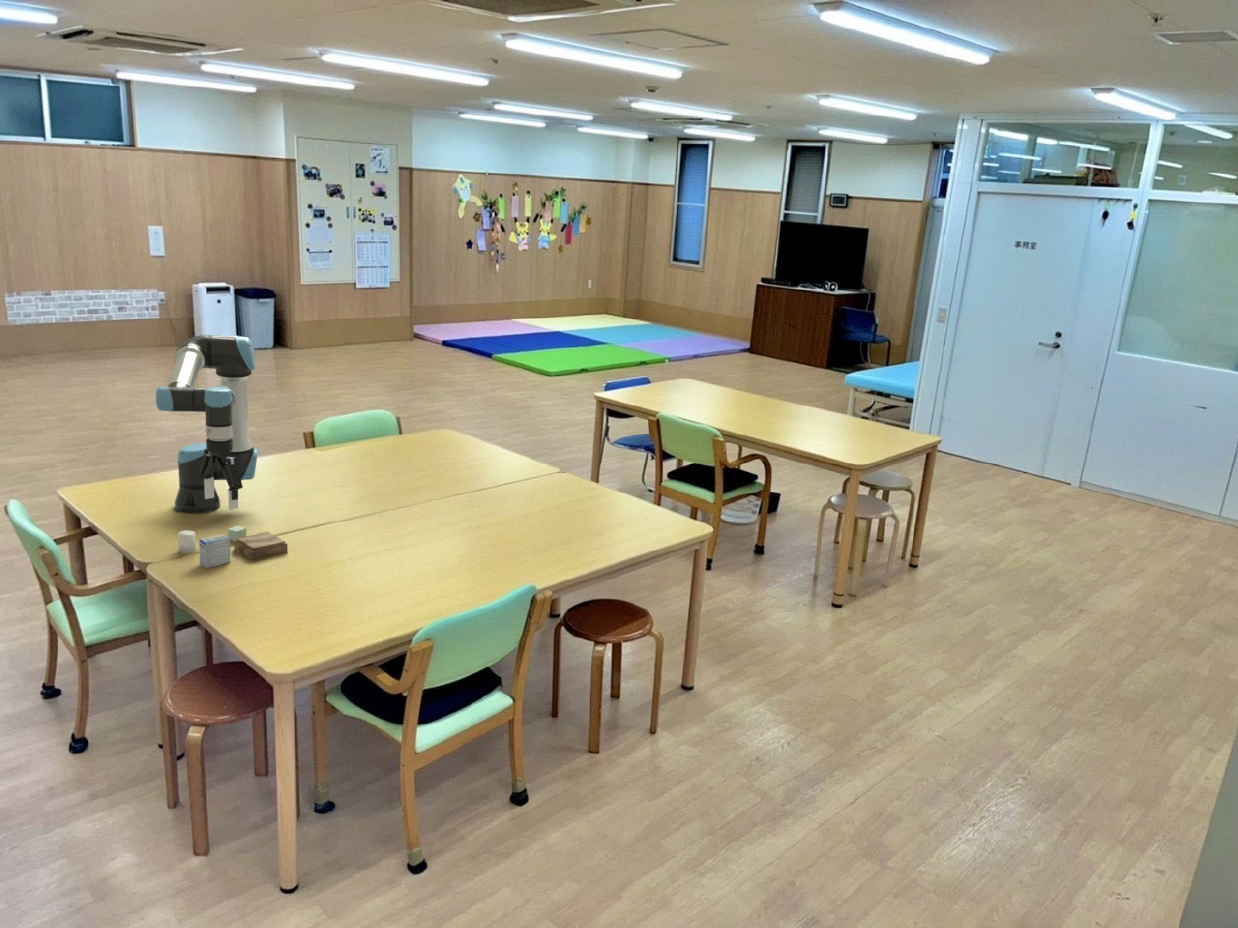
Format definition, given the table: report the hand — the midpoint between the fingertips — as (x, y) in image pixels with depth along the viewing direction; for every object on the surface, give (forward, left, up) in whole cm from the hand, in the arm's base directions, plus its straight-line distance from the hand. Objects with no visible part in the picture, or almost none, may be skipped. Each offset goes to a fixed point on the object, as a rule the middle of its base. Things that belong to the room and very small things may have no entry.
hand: (221, 503), depth 284 cm
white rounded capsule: (-15, -4, -20) cm, 25 cm away
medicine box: (0, -2, -20) cm, 20 cm away
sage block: (-15, +12, -20) cm, 28 cm away
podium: (-1, +14, -20) cm, 24 cm away
